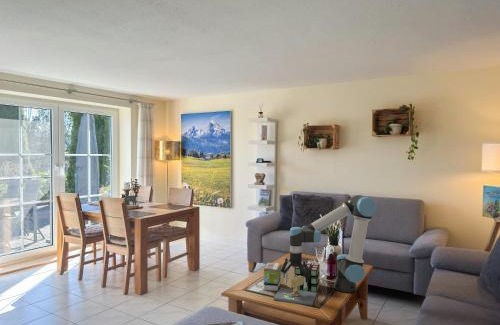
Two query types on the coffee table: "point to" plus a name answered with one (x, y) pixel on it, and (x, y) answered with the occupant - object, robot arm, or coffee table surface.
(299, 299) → the tuner board
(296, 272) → the puzzle
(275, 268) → the tea box
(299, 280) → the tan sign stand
